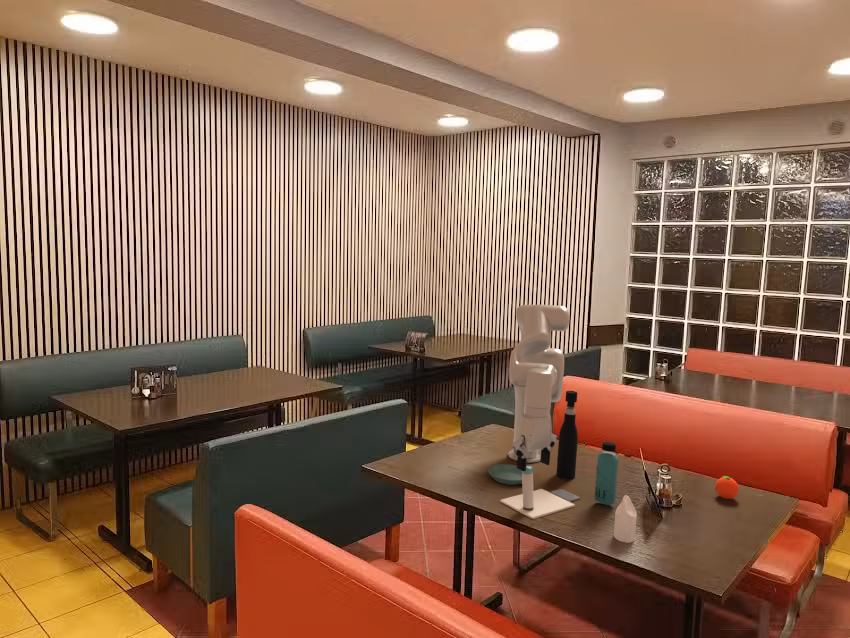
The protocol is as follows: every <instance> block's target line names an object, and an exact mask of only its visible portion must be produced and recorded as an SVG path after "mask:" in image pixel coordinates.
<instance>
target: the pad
mask: <svg viewBox="0 0 850 638" xmlns="http://www.w3.org/2000/svg"><path fill="white" fill-rule="evenodd" d="M533 500H534V509H533V510H524V509H523V493H521V494H517V495H513V496H510V497H506V498H502V499H500V501H499V503H501V504H504V505H505V506H507V507H509V508H511V509H513V510H514V511H517V512H518V513H520V514H522V515H524V516H526V517H527V518H529V519H532V520H536V519H539V518H541V517H545V516H548V515H551V514H555V513H557V512H561V511H564V510H567V509H571V508H574V507H576V504H575V503H572V502H568V501H566V500H564V499H562V498H560V497H558V496H556V495H554V494H552V493H551V492H550V491H548V490H545V489H543V488H539V489H536V490H533Z"/></svg>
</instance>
